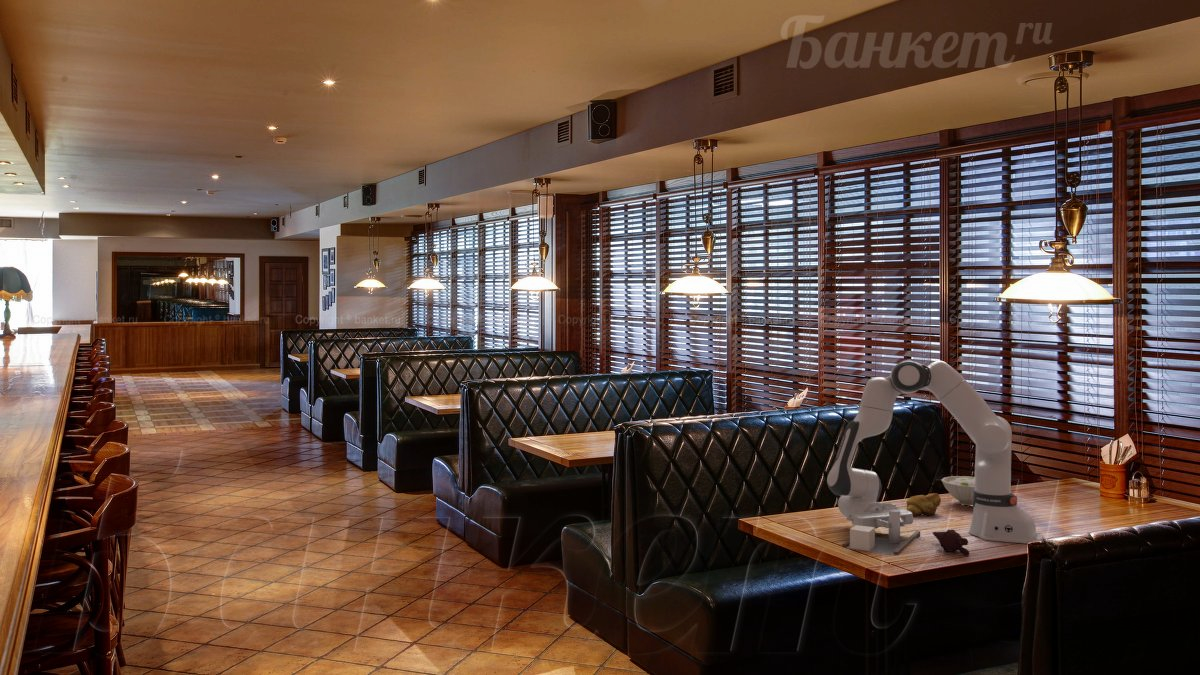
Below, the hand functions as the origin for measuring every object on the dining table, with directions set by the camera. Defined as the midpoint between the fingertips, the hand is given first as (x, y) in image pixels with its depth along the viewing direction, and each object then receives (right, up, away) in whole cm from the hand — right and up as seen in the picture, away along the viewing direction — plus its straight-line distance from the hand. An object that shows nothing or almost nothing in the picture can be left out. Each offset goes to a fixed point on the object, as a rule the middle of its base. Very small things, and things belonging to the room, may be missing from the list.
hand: (896, 524), depth 288 cm
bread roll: (+22, -5, +42) cm, 48 cm away
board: (-7, -7, -2) cm, 10 cm away
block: (-12, -6, -4) cm, 14 cm away
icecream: (+15, -7, -5) cm, 18 cm away
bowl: (+46, -4, +56) cm, 72 cm away
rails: (-3, -7, +4) cm, 9 cm away
